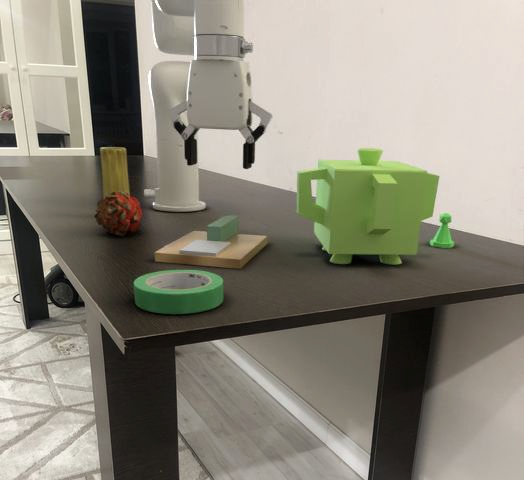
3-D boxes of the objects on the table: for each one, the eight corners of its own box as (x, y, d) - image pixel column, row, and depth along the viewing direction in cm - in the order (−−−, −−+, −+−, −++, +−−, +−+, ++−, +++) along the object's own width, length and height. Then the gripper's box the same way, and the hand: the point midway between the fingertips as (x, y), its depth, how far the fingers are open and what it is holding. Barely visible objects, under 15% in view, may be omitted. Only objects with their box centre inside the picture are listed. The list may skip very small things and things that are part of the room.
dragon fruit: (118, 249, 102) (116, 244, 113) (155, 219, 103) (149, 218, 114) (86, 210, 99) (87, 209, 110) (123, 180, 100) (121, 183, 111)
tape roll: (126, 292, 74) (124, 273, 72) (205, 284, 78) (205, 265, 77) (147, 320, 64) (146, 297, 63) (236, 308, 69) (236, 287, 68)
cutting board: (154, 261, 89) (154, 252, 88) (194, 238, 105) (193, 230, 104) (240, 269, 86) (240, 259, 85) (267, 244, 102) (267, 236, 101)
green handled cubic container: (287, 238, 106) (291, 142, 100) (404, 240, 108) (416, 145, 101) (303, 274, 83) (310, 152, 77) (452, 275, 85) (471, 156, 78)
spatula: (216, 230, 104) (216, 214, 103) (247, 233, 103) (248, 216, 102) (179, 253, 87) (178, 234, 86) (216, 256, 86) (215, 237, 85)
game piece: (453, 248, 102) (459, 215, 100) (429, 246, 103) (434, 213, 101) (453, 243, 106) (458, 211, 103) (430, 242, 107) (434, 209, 104)
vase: (118, 220, 119) (112, 149, 113) (97, 217, 122) (91, 147, 116) (138, 216, 124) (134, 148, 118) (118, 213, 127) (113, 146, 121)
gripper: (279, 53, 88) (274, 167, 96) (175, 51, 92) (179, 161, 99) (268, 50, 82) (264, 172, 89) (157, 48, 85) (162, 165, 92)
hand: (219, 166), depth 94 cm, fingers open, 9 cm apart
